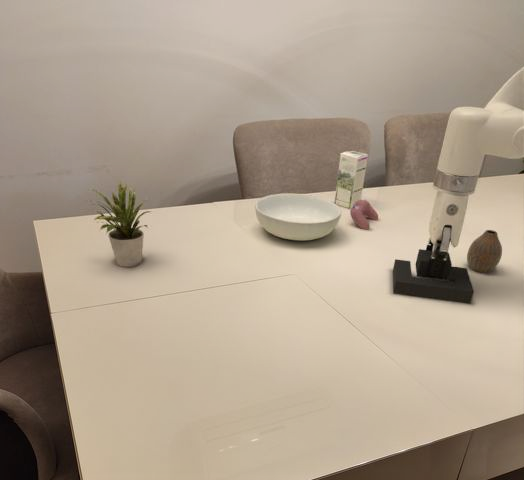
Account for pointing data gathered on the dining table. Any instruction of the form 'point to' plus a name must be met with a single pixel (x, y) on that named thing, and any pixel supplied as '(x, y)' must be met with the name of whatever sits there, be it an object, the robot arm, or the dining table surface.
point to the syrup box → (350, 178)
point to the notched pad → (432, 284)
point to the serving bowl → (297, 216)
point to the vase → (485, 252)
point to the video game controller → (363, 213)
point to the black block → (423, 262)
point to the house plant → (124, 228)
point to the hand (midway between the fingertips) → (431, 269)
